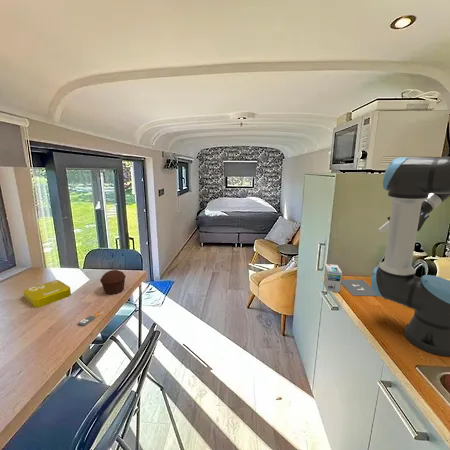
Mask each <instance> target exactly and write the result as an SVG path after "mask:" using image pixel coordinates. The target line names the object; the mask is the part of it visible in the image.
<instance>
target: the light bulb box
mask: <svg viewBox="0 0 450 450" xmlns="http://www.w3.org/2000/svg"><path fill="white" fill-rule="evenodd" d="M341 280H343V271H342V270H341V268H340V266H339V265H338V264H330V263H325V264H324V274H323V284H324V287H325V290H326V291H327V292H335V293H341V289H342V284H341Z"/></svg>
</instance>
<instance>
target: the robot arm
mask: <svg viewBox="0 0 450 450" xmlns="http://www.w3.org/2000/svg"><path fill="white" fill-rule="evenodd" d="M382 187H383V190H386V191H387V192H388V193H387V197H389V199H390V200H391V201H392V202H391V208H390V215H389V216H387V221H386V222H385V223H384V224H383V225H382V226H380V227H378V230H379V232H380V233H382V234H383V233H385V232H386V231H388V232H387V236H386V237H387V238H386V246H385V254H384V261H381V262H380V263H379V265H377V266H375V267H374V269H372V274H371V276H370V286H371V287H372V290H373V292H374V293H375V294H376V295H378V296H377V297H381V298H383V299H384V300H389V301H391V302H394V303H397V304H399V305H403V306H405V307H408V308H411V309H413V310H414V313H413V316H412V317H411V319H410V321H409V323H407V324H406V326H405V329H404V331H403V332H404V336H405V338H406V339H407V340H408V342H410V343H411V344H412V345H414V346H416V347H417V348H418V349H421V350H422V351H426V352H427V353H430V354H433V355H436V356H437V355H438V356H442V357H444V356H445V357H450V280H449V279H446V278H443V277H440V276H438V275H431V274H424V275H422V276H421V277H420V276H416V272H417V271H416V269H415V268H414V267H413V265H412V263H413V257H414V253H415V245H416V239H417V233H418V232H419V231H420V230H421V229H422V227H423V225H424V224H425V222H426V221H427V219H428V218H429V217H430V213H431V212H432V211H433V210H434V209H436V208H437V207H439V206H440V205H441V204H442V203H443V202H444V201H446V200H447V199H448V198H449V197H450V156H403V157H396V158H394V159H393V160H392V161H391V162H390V163H389V164H388V166H387V168H386V170H385V171H384V174H383V179H382Z"/></svg>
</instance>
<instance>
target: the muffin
mask: <svg viewBox="0 0 450 450" xmlns="http://www.w3.org/2000/svg"><path fill="white" fill-rule="evenodd" d="M126 278H127V277H126V274H125V273H124V272H123V271H121V270H118V269H112V270H109V271H107V272H105V273H104V274H103V275H102V277H101V278H100V279H99V280H100V283H101V285H102V288H103V292H104V293H105V295H109V296H111V295H112V296H113V295H118V294H120V293H122V292H123V291H124V290H125V280H126Z"/></svg>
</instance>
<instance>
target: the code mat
mask: <svg viewBox="0 0 450 450" xmlns="http://www.w3.org/2000/svg"><path fill="white" fill-rule="evenodd" d="M341 286H343V287H344V289H346V290H347V291H348V293H350V294H351V295H352V296H353V297H379V296H378V295H376V294H375V293H374V292H373V290H372V287H371V284H370V285H369V283H367V282H366V281H365V280H363V279H342V280H341Z"/></svg>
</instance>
